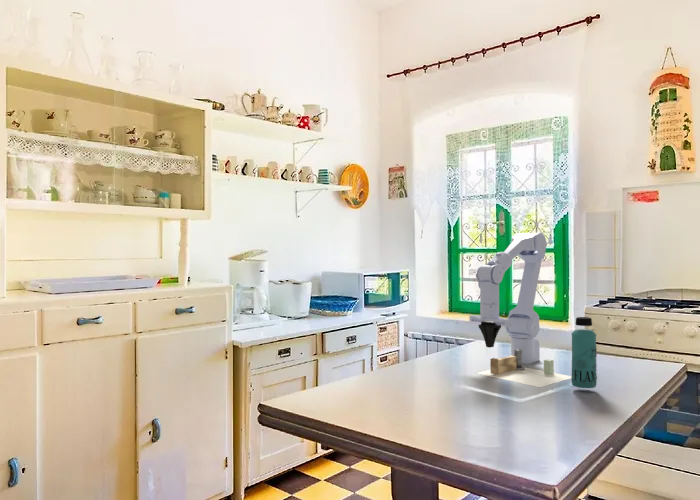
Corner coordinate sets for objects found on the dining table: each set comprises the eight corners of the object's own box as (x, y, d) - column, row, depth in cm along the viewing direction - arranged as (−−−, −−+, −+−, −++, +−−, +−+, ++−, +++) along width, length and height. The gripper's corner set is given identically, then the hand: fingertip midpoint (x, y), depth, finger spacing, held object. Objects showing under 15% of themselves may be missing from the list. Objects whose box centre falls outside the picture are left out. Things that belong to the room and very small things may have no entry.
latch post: (547, 374, 167) (547, 359, 167) (553, 376, 166) (553, 360, 166) (543, 376, 166) (543, 360, 166) (549, 377, 165) (549, 361, 165)
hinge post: (516, 369, 175) (516, 348, 175) (527, 371, 172) (527, 350, 172) (509, 371, 173) (508, 349, 173) (519, 373, 170) (519, 351, 170)
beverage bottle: (569, 392, 148) (569, 318, 147) (572, 386, 154) (572, 315, 153) (596, 395, 145) (595, 319, 144) (598, 389, 150) (597, 316, 150)
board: (511, 367, 179) (511, 364, 178) (575, 379, 161) (575, 377, 161) (475, 375, 167) (475, 373, 167) (540, 390, 150) (540, 387, 150)
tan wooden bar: (512, 368, 172) (512, 354, 172) (516, 369, 171) (516, 354, 171) (490, 373, 165) (490, 358, 165) (494, 374, 164) (494, 359, 164)
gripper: (463, 302, 175) (463, 345, 175) (501, 306, 163) (501, 351, 163) (477, 301, 179) (477, 342, 179) (515, 304, 168) (515, 349, 168)
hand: (489, 346), depth 172 cm, fingers closed
